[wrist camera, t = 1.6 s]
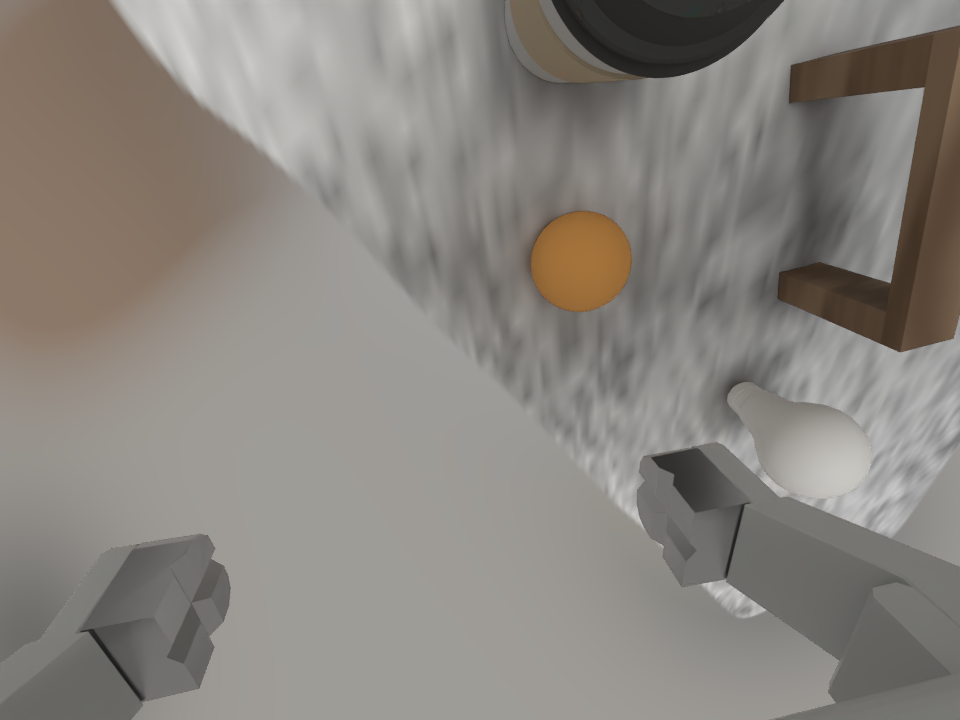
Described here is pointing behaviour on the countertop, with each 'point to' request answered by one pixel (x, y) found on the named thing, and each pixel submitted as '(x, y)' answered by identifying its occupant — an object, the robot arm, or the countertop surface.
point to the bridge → (928, 206)
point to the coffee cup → (628, 36)
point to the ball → (581, 261)
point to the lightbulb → (803, 442)
